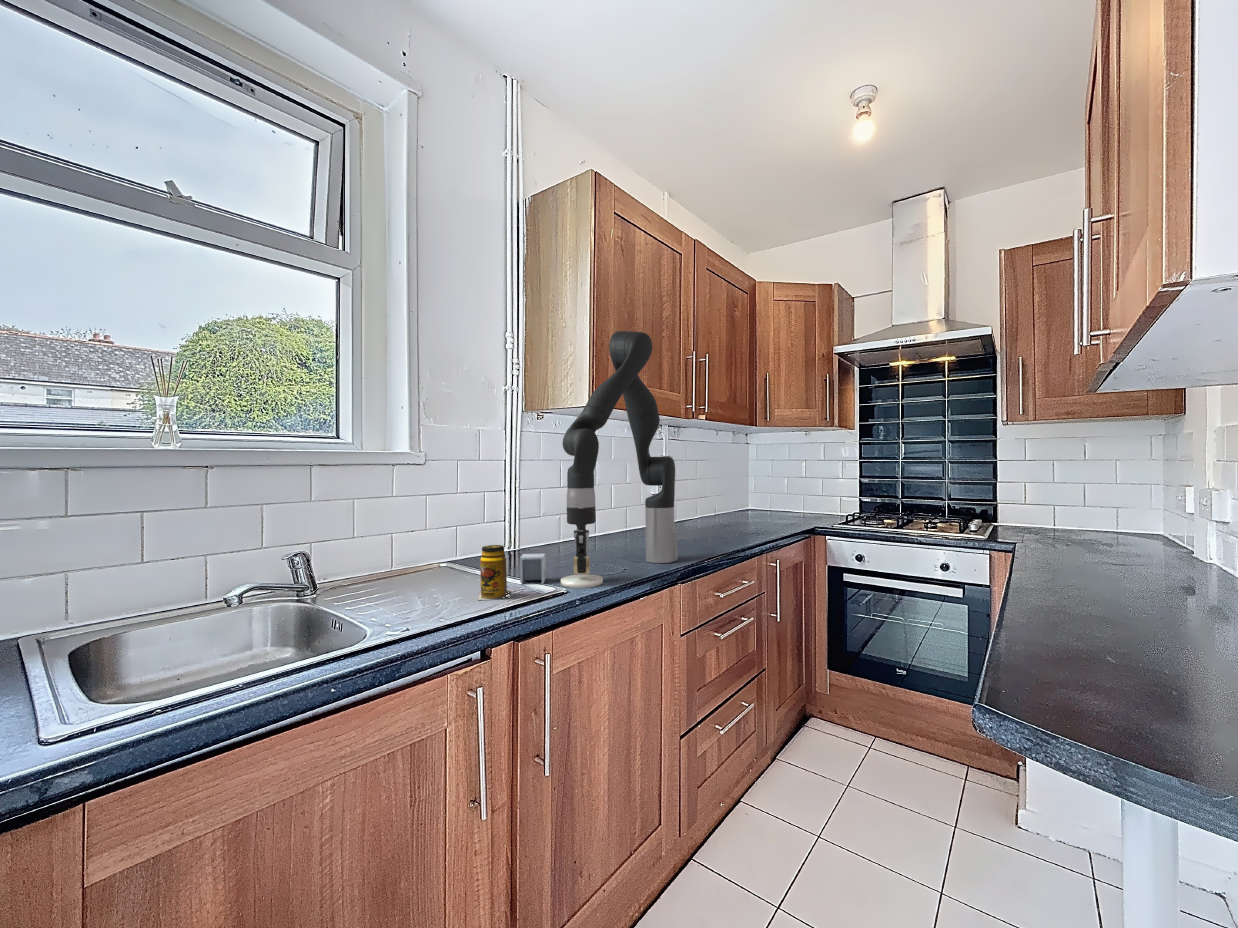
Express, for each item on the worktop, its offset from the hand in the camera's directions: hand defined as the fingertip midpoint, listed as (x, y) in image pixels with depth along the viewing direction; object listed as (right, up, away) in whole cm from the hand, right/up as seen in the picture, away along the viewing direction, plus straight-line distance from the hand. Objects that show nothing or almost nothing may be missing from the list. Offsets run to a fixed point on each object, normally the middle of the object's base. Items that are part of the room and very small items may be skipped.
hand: (581, 570), depth 146 cm
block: (0, -1, 0) cm, 1 cm away
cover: (-13, -4, +3) cm, 14 cm away
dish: (0, -3, 0) cm, 3 cm away
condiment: (-20, -4, -12) cm, 24 cm away
